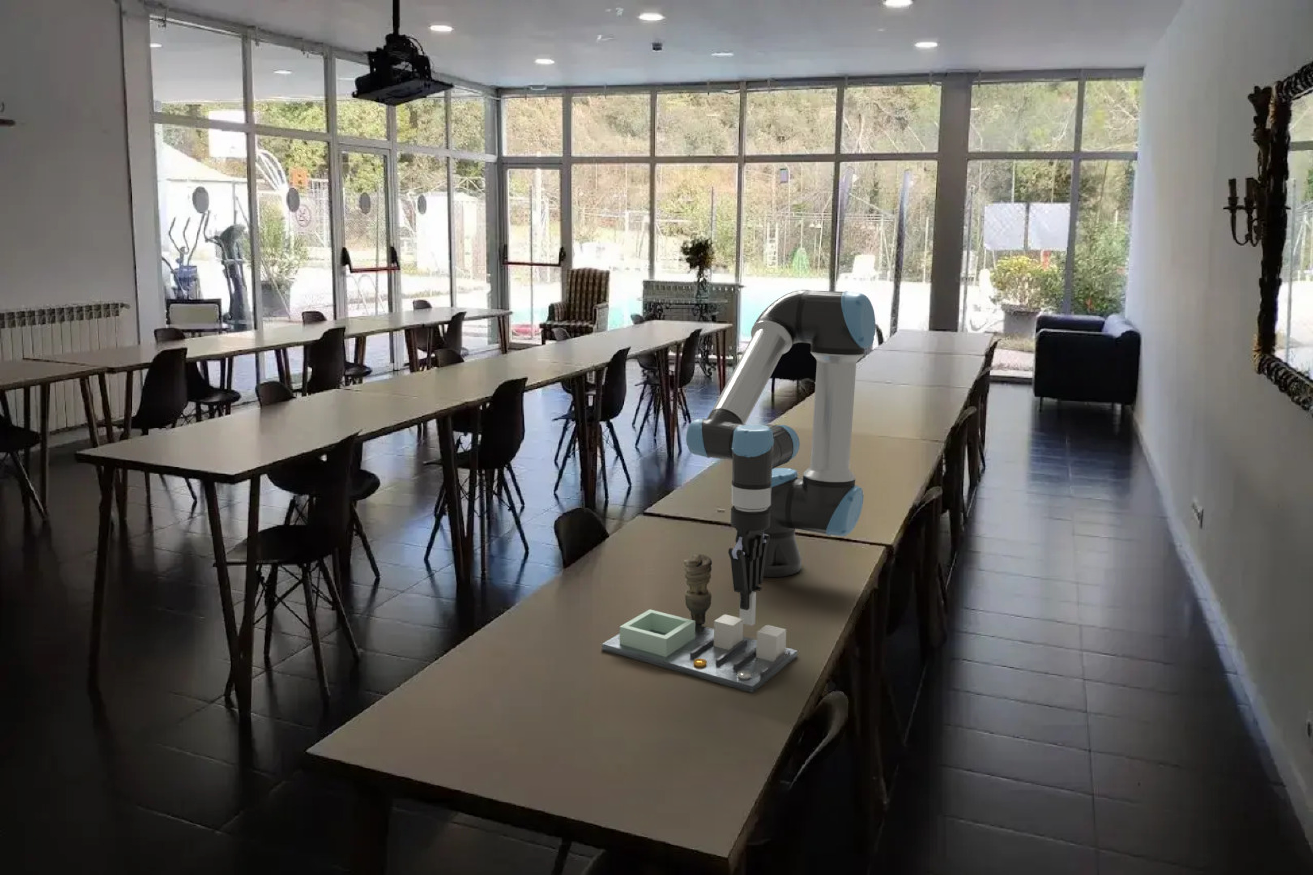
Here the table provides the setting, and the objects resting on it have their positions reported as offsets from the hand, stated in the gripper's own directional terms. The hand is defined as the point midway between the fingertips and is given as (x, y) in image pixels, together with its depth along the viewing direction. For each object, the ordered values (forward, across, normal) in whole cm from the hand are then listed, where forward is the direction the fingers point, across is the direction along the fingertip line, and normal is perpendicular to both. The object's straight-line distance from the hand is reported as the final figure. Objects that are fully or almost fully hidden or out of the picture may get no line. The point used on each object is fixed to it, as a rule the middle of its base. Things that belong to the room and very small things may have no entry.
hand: (747, 622), depth 199 cm
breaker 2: (+2, +8, +9) cm, 12 cm away
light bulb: (+3, +1, -11) cm, 11 cm away
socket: (+2, +14, -12) cm, 18 cm away
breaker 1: (+2, +8, 0) cm, 8 cm away
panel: (+3, +12, -4) cm, 13 cm away
